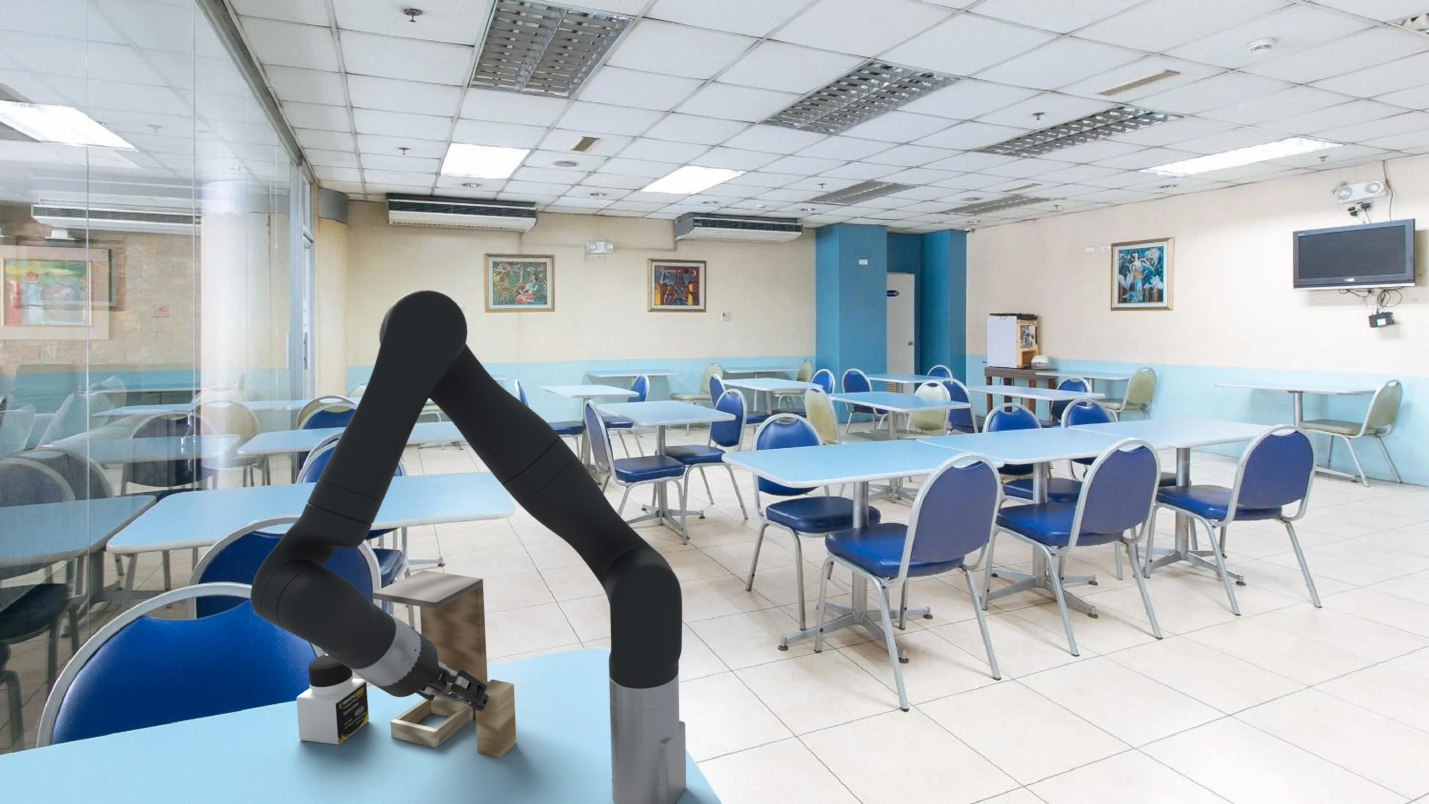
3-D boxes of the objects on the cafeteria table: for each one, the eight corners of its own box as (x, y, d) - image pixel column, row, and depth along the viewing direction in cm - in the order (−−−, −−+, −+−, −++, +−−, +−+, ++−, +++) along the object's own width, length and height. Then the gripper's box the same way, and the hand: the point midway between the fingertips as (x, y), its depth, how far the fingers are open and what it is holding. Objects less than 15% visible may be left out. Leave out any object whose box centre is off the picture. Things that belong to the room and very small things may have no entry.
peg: (516, 743, 113) (513, 683, 111) (499, 757, 109) (497, 696, 108) (494, 738, 114) (492, 679, 113) (477, 752, 110) (474, 691, 109)
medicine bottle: (339, 745, 112) (334, 670, 111) (298, 740, 114) (292, 666, 112) (370, 720, 119) (365, 649, 118) (331, 716, 121) (326, 646, 119)
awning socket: (489, 715, 120) (482, 578, 118) (443, 750, 111) (435, 602, 108) (430, 702, 125) (423, 570, 122) (381, 735, 115) (372, 592, 112)
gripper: (451, 633, 91) (512, 680, 103) (362, 617, 96) (430, 663, 108) (422, 695, 86) (489, 736, 98) (331, 675, 91) (405, 716, 103)
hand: (458, 698), depth 103 cm, fingers open, 8 cm apart
